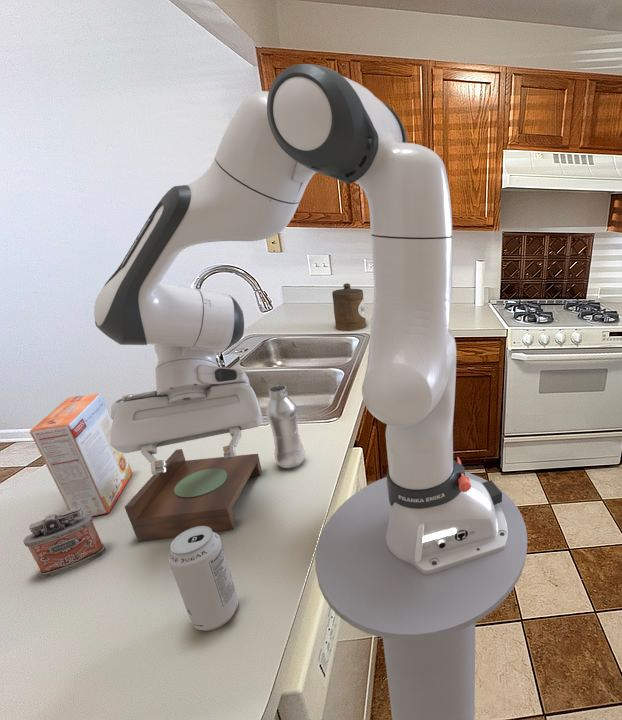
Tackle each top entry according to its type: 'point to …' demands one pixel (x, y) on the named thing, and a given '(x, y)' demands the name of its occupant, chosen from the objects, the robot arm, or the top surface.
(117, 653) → the top surface
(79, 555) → the lighter
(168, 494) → the shelf
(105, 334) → the robot arm
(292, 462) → the silver metal bottle
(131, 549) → the top surface
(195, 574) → the energy drink can
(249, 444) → the top surface
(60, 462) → the cracker box
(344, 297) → the wooden container
